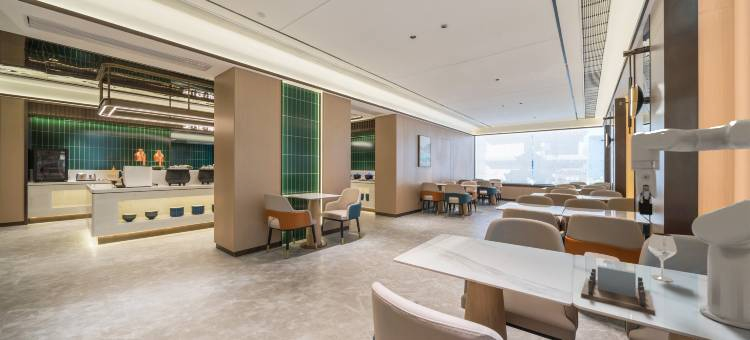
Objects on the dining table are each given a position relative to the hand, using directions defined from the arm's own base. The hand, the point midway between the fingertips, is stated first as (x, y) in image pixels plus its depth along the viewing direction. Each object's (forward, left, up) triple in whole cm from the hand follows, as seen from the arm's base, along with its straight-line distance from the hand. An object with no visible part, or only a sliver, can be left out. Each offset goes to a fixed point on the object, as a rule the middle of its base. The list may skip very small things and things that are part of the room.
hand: (645, 213), depth 102 cm
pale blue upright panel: (+8, +12, -27) cm, 31 cm away
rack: (+8, +12, -28) cm, 32 cm away
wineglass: (-6, -22, -28) cm, 36 cm away
